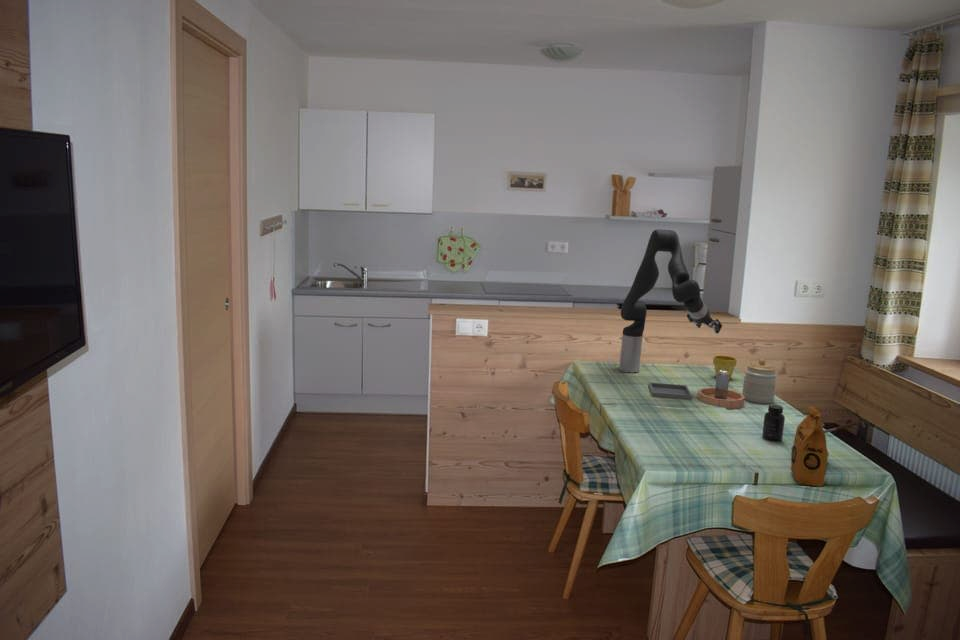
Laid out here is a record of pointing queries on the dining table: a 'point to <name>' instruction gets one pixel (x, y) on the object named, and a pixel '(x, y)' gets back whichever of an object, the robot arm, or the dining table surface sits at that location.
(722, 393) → the silver gray cylinder
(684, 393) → the tray
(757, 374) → the jar
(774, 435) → the supplement bottle
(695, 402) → the dining table surface
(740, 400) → the terracotta bowl
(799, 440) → the coffee package
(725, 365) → the plant pot
